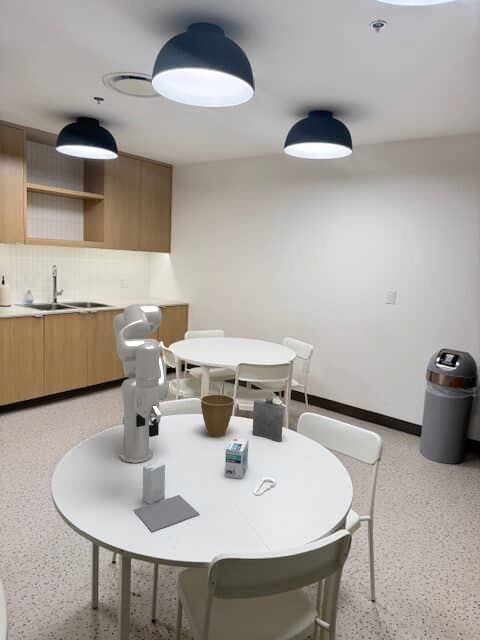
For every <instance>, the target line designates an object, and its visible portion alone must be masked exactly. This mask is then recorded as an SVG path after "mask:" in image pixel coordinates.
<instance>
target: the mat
mask: <svg viewBox="0 0 480 640" xmlns="http://www.w3.org/2000/svg"><path fill="white" fill-rule="evenodd" d="M134 511H135V512H134ZM133 512H134V513H135V514H136V516H137V515H138V516H139V517H140V518H139V517H138V516H137V517H138V518H139V519H140V520H141V522H142V523H143V524H144V525H145V527H146V528H148V530H149V531H150V532H151V533H154V532H157V531H160V530H162V529H165V528H168V527H172V526H174V525H176V524H180V523H182V522H185V521H187V520H190V519H192V518H195V517H198V516H200V513H199V512H198V511H197V510H196V509H195V508H194V507H193V506H192V505H191V504H190V503H188V501H186V499H184V498H183V497H182V496H181V495H180V494H176V495H175V496H171V497H167V498H165V499H161V500H159V501H157V502H155V503H153V504H147V505H144V506H141V507H138V508H135V509H133Z"/></svg>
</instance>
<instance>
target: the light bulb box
mask: <svg viewBox="0 0 480 640" xmlns="http://www.w3.org/2000/svg"><path fill="white" fill-rule="evenodd" d="M224 461H225V463H224V464H225V466H224V477H227V478H234V479H240V480H242V479H243V478H244V476H245V474H246V471H247V469H248V461H249V440H248V439H243V438H242V439H241V438H236V437H235V438H234V437H232V438H231V439H230V440H229V442H228V444H227V447H226V448H225V460H224Z"/></svg>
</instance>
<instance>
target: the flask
mask: <svg viewBox="0 0 480 640" xmlns="http://www.w3.org/2000/svg"><path fill="white" fill-rule="evenodd" d="M252 412H253V413H252V414H253V416H252V433H251V435H253V436H255V437H259V438H263V439H267V440H271V441H274V442H277V443H282V441H283V425H284V424H283V423H284V405H281V404H279V403H276V402H274V398H273V397H265V400H260V399H253V411H252Z"/></svg>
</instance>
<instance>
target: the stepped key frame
mask: <svg viewBox="0 0 480 640" xmlns="http://www.w3.org/2000/svg"><path fill="white" fill-rule="evenodd" d="M264 483H271V485H270V484H269V486H268V487H266V488H264V489H263V490H262V491H261V492H259V490H260V489H261V487H262V486H263V485H264ZM276 484H277V481H276V480H275V479H274V478H272V477H270V476H269V477H262V478H261V479H260V481H259V483H258V484H257V485H256V486H255V489H254V490H253V492H252V494H253V495H254V496H256V497H257V496H259V497H260V496H261V495H263V494H264V493H266V492H267V491H269V490H270V489H272V488H274V487H276ZM258 492H259V493H258ZM257 493H258V494H257Z"/></svg>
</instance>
